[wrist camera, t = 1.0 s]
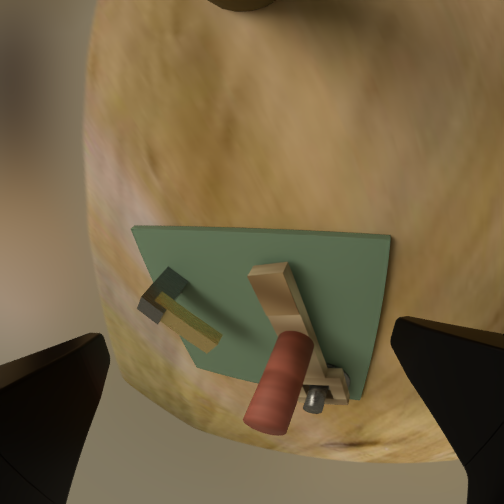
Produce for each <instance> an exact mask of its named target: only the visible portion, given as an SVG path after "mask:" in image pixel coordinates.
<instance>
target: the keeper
mask: <svg viewBox="0 0 504 504" xmlns="http://www.w3.org/2000/svg"><path fill="white" fill-rule="evenodd" d="M187 283H188V280H186V279H185V278H183V277H182V276H181V275H179V274H178V273H177V272H175V271H174V270H173V269H171V268H170V267H169V266H168V267H167V268H166V269H165V270H164V271H163V273H162V274H161V275H160V276H159V277H158V278H157V279H156V280H155V282H154V283H153V284H152V285H151V286H150V287H149V288H148V290H147V291H146V292H145V293H144V294H143V295H142V297H141V299H140V302H139V305H138V307H137V309H138V310H139V311H141V312H142V313H143V314H145V315H146V316H147V317H148V318H150V319H151V320H152V321H154V322H155V323H156V324H158V323H159V322H160V321H161V322H162V323H164V324H165V325H166V326H168V327H169V328H170V329H172V330H173V331H175V332H176V333H177V334H179V335H180V336H182V337H183V338H184V339H186V340H187V341H189V342H190V343H192V344H193V345H195V346H196V347H198V348H199V349H200V350H202V351H203V352H205V353H206V354H207V353H208V352H210V351H211V350H212V349H213V348H214V347H216V346H217V345H218V343H219V341H220V340H221V338H222V336H223V334H221V333H220V332H218V331H217V330H215V329H214V328H212V327H211V326H210V325H208V324H207V323H205V322H204V321H202V320H201V319H200V318H198V317H197V316H195V315H194V314H193V313H191V312H190V311H188V310H187V309H186V308H184V307H183V306H181V305H180V304H179V303H177V302H176V299H177V298H178V297H179V296H180V294H181V293H182V291H183V290H184V288H185V286H186V285H187Z"/></svg>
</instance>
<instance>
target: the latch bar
mask: <svg viewBox="0 0 504 504" xmlns="http://www.w3.org/2000/svg"><path fill="white" fill-rule="evenodd" d="M247 277H248V280H249V282H250V284H251V286H252V288H253V290H254V292H255V294H256V296H257V298H258V300H259V302H260V304H261V306H262V308H263V310H264V312H265V314H266V316H268V318H269V320H270V322H271V324H272V326H273V328H274V330H275V332H276V334H277V336H278V338H277V341H276V343H275V346H274V348H273V351H272V353H271V355H270V358H269V360H268V363H267V365H266V368H265V370H264V372H263V375H262V377H261V379H260V382H259V384H258V386H257V389H256V391H255V393H254V396H253V398H252V400H251V402H250V405H249V407H248V409H247V411H246V414H245V416H244V418H243V421H244V423H245V424H247V425H248V426H249V427H251V428H253V429H255V430H257V431H260V432H263V433H266V434H270V435H284V434H286V432H287V429H288V426H289V424H290V421H291V418H292V415H293V412H294V409H295V407H296V404H297V401H299V402H302V403H305V400H306V397H307V394H308V390H309V385H329V387H330V390H328V391H327V395H326V399H325V403H324V404H335V405H348V403H349V398H350V394H349V390H348V387H347V383H346V380H345V376H344V373H343V369H342V368H327V365H326V362H325V360H324V357H323V354H322V351H321V348H320V346H319V343H318V340H317V337H316V335H315V332H314V329H313V327H312V324H311V321H310V319H309V316H308V313H307V311H306V308H305V305H304V303H303V300H302V297H301V295H300V292H299V289H298V287H297V284H296V282H295V279H294V276H293V274H292V271H291V269H290V266H289V264H288V262H281V263H273V264H264V265H255V266H253V267H252V269H251V271H250V272H249V274H248V276H247Z"/></svg>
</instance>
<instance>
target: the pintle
mask: <svg viewBox="0 0 504 504" xmlns="http://www.w3.org/2000/svg"><path fill="white" fill-rule="evenodd" d="M326 365H327V368H339V367H337V366H335V365H332V364H328V363H326ZM343 373H344V376H345V380H346V383H347V387H349V385H350V377H349V375H348V374H347V373H346V372H345V371H344V370H343ZM328 390H330V387H329V385H309V390H308V394H307V397H306V400H305V403H304V406H303V409H304V410H305V411H307V412H309V413H313V414H319V413H321V412H322V410H323V406H324V403H325V399H326V395H327V391H328Z"/></svg>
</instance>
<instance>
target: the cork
mask: <svg viewBox="0 0 504 504" xmlns="http://www.w3.org/2000/svg"><path fill="white" fill-rule="evenodd" d="M208 1H210V2H211V3H213V4H215V5H217V6H219V7H220V8H222V9H227V10H231V11H252V10H255V9H258V8H262V7H265V6H267V5H269V4H270V3H272V2H274V1H275V0H208Z"/></svg>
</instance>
